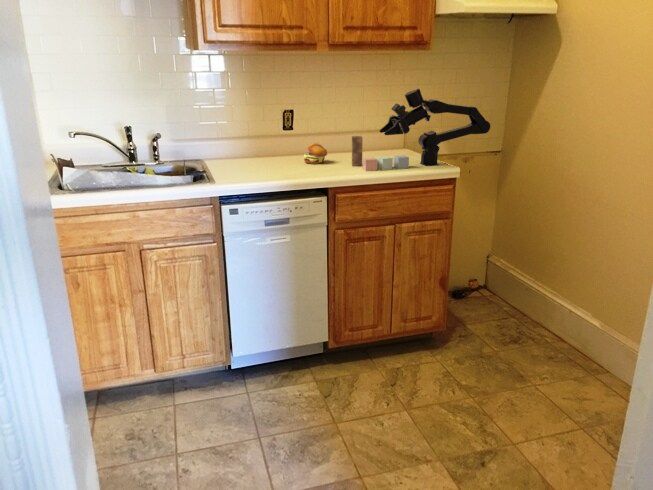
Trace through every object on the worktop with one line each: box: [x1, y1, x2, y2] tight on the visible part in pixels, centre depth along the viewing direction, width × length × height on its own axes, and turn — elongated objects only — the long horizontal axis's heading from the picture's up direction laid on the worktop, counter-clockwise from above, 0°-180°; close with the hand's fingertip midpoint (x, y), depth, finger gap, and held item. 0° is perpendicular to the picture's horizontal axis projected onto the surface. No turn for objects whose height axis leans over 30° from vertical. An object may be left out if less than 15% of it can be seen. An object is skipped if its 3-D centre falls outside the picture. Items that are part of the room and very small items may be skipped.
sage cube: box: [376, 155, 394, 171], centre depth 242 cm, size 5×5×5 cm
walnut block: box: [351, 135, 363, 167], centre depth 248 cm, size 4×4×13 cm
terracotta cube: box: [362, 156, 378, 172], centre depth 240 cm, size 5×5×5 cm
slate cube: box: [393, 154, 410, 170], centre depth 244 cm, size 5×5×5 cm
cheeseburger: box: [303, 142, 328, 165], centre depth 256 cm, size 10×11×10 cm
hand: (382, 132), depth 243 cm, fingers open, 9 cm apart
